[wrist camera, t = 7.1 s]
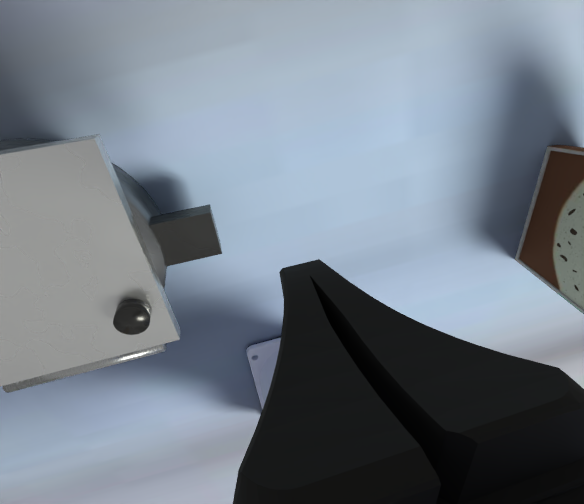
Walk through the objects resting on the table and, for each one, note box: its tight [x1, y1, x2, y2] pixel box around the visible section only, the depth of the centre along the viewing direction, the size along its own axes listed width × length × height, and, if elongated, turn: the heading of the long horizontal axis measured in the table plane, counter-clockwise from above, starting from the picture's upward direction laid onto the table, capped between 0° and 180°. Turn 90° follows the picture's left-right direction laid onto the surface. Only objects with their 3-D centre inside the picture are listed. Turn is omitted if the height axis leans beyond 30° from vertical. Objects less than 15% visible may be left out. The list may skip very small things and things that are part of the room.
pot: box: [0, 139, 222, 289], centre depth 17 cm, size 12×17×3 cm
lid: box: [0, 134, 180, 393], centre depth 15 cm, size 12×10×2 cm
